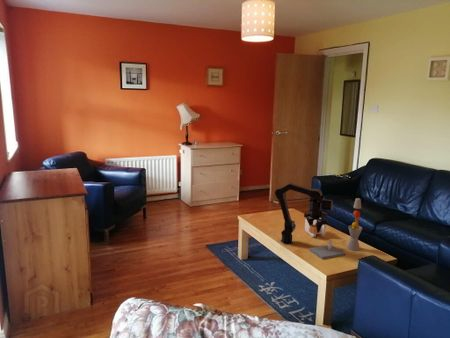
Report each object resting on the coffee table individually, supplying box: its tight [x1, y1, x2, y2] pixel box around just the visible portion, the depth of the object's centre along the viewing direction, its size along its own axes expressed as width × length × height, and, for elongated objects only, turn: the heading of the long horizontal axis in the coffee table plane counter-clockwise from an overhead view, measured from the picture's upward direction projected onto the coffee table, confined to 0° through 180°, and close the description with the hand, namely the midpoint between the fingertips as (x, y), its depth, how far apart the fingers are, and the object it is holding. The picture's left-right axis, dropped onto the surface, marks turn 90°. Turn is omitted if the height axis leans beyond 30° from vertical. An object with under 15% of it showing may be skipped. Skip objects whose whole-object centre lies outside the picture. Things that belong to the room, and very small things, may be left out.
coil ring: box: [309, 225, 320, 235], centre depth 236 cm, size 7×7×4 cm
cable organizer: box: [304, 218, 327, 238], centre depth 262 cm, size 15×11×12 cm
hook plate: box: [308, 238, 346, 260], centre depth 231 cm, size 18×14×9 cm
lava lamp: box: [346, 197, 363, 252], centre depth 236 cm, size 9×9×35 cm
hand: (314, 230), depth 236 cm, fingers closed on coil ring, 7 cm apart
